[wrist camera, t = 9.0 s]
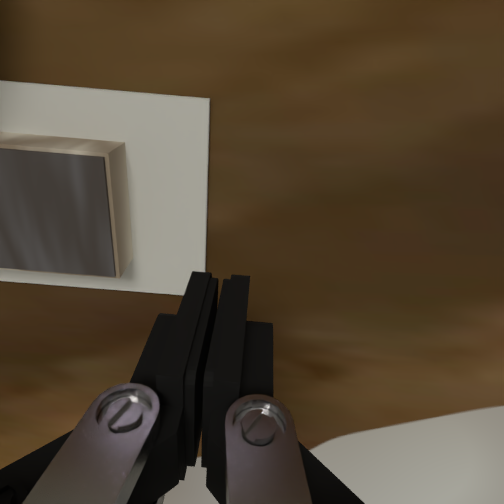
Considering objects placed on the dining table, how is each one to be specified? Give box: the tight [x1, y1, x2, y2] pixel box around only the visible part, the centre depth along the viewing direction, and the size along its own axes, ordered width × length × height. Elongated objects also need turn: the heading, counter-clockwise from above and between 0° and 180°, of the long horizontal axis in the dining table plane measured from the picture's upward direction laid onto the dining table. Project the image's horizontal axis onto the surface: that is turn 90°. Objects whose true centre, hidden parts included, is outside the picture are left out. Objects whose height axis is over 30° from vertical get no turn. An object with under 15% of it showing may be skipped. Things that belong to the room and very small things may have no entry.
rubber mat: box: [0, 80, 210, 295], centre depth 22 cm, size 18×12×1 cm, turn 85°
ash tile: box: [0, 132, 133, 279], centre depth 21 cm, size 3×7×12 cm
